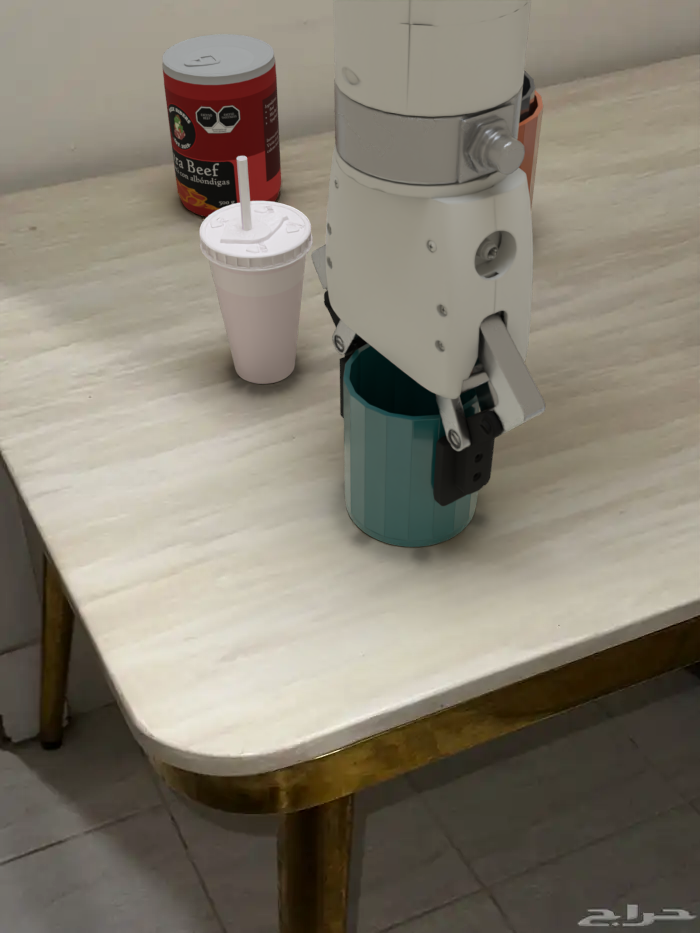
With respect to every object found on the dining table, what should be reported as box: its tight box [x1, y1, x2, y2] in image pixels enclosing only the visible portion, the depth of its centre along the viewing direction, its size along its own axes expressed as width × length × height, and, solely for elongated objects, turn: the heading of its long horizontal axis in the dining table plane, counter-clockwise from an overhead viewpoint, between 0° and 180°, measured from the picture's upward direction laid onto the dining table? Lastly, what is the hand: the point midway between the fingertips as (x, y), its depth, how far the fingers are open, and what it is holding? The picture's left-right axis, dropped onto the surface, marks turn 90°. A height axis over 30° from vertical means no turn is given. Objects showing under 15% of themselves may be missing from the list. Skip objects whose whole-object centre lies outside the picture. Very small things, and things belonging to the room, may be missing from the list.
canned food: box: [161, 33, 282, 218], centre depth 81 cm, size 8×8×11 cm
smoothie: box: [198, 156, 313, 385], centre depth 64 cm, size 6×6×14 cm
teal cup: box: [343, 343, 481, 548], centre depth 57 cm, size 7×7×8 cm
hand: (412, 448), depth 57 cm, fingers closed on teal cup, 7 cm apart
